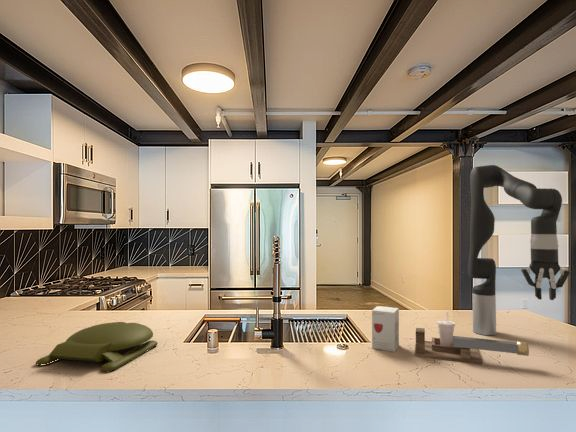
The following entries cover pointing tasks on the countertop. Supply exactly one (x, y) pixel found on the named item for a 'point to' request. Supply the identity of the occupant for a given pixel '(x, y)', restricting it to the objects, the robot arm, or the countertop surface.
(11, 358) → the countertop surface
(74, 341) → the spaceship
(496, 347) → the bar
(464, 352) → the holder
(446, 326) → the smoothie
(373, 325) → the supplement box
